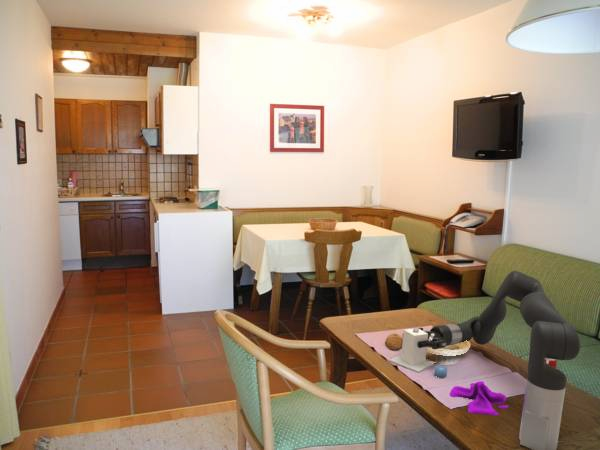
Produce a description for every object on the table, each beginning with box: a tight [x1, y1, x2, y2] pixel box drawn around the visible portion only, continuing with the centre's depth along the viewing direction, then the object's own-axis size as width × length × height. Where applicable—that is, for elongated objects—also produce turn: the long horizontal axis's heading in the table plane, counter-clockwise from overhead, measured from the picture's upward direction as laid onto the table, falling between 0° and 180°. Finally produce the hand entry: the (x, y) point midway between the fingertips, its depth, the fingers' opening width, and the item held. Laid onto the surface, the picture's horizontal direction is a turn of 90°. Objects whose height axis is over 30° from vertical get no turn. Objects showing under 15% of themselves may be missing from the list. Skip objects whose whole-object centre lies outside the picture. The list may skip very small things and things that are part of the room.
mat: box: [388, 353, 433, 373], centre depth 185 cm, size 12×12×1 cm
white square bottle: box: [401, 327, 428, 366], centre depth 184 cm, size 6×6×12 cm
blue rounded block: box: [433, 364, 448, 379], centre depth 175 cm, size 4×4×3 cm
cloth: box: [449, 380, 509, 416], centre depth 161 cm, size 22×19×6 cm
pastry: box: [385, 333, 403, 351], centre depth 199 cm, size 9×7×4 cm
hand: (410, 340), depth 183 cm, fingers open, 8 cm apart
